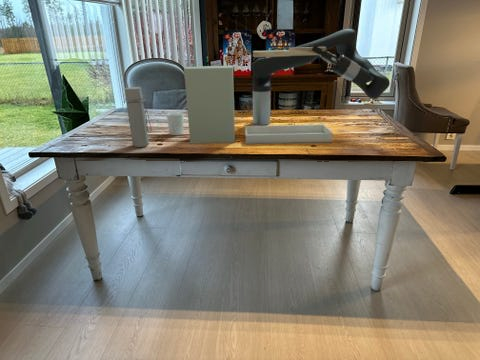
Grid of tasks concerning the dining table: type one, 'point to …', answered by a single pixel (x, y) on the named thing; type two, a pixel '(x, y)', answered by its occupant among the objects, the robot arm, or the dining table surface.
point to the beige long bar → (287, 52)
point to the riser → (210, 104)
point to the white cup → (175, 123)
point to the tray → (288, 134)
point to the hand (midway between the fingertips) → (312, 47)
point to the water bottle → (137, 116)
